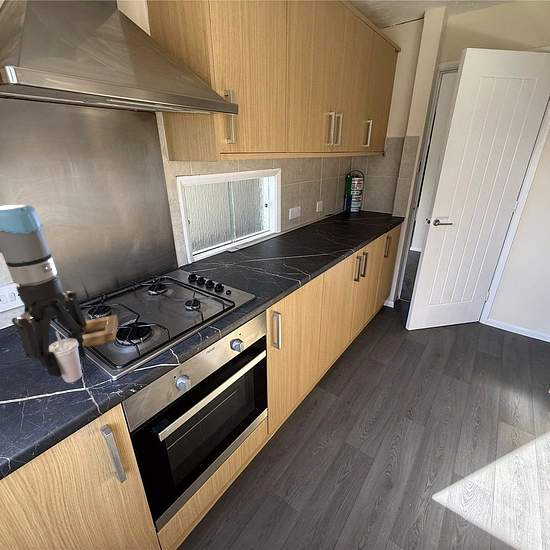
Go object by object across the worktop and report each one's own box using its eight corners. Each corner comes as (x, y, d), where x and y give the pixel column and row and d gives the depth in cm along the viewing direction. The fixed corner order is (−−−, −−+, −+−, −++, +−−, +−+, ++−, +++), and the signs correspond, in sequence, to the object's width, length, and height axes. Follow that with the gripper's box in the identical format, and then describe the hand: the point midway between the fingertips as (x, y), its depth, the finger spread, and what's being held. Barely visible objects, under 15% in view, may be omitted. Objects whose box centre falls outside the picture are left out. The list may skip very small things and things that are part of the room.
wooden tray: (70, 350, 88) (67, 342, 87) (79, 330, 98) (76, 322, 97) (114, 340, 92) (112, 332, 91) (118, 322, 102) (116, 314, 101)
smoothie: (59, 390, 69) (39, 342, 64) (57, 376, 74) (38, 329, 68) (90, 378, 73) (74, 331, 67) (86, 365, 78) (70, 319, 72)
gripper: (2, 302, 53) (44, 397, 62) (87, 264, 71) (110, 343, 80) (-28, 298, 55) (16, 391, 64) (62, 262, 72) (87, 339, 81)
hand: (68, 364), depth 72 cm, fingers closed on smoothie, 6 cm apart
